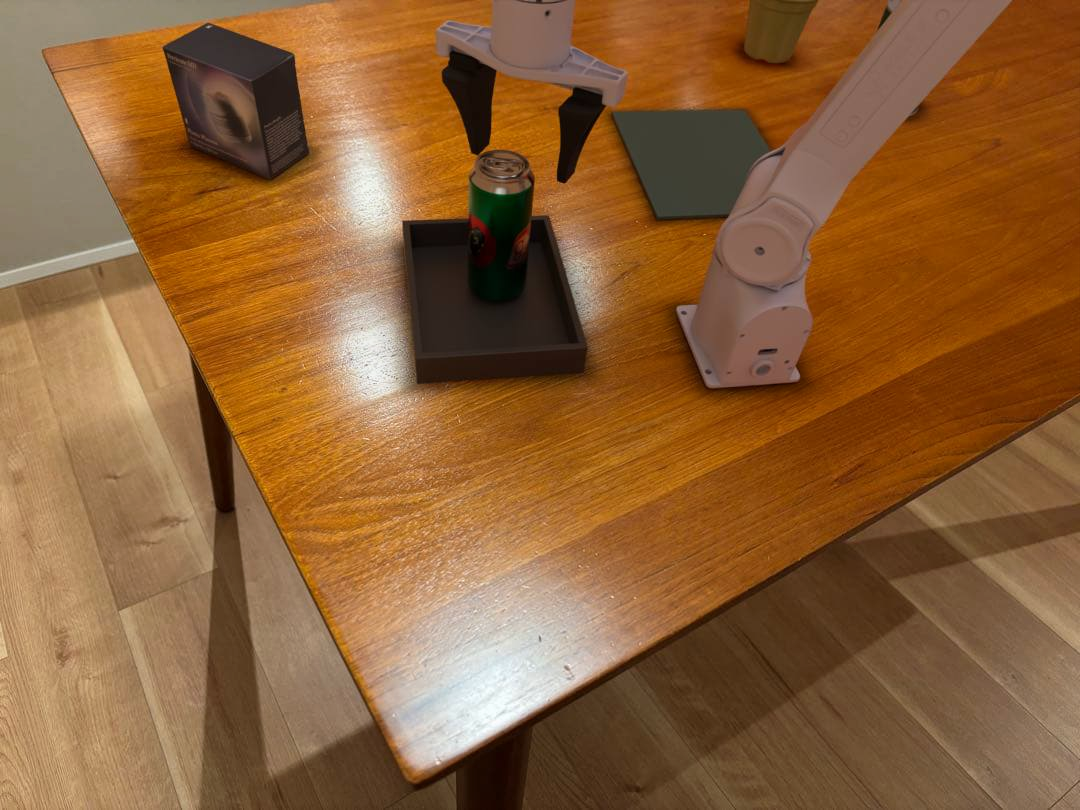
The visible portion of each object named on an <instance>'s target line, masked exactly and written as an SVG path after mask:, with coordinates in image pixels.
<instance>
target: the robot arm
mask: <svg viewBox="0 0 1080 810" xmlns="http://www.w3.org/2000/svg"><path fill="white" fill-rule="evenodd" d="M1012 1H1013V0H901V2H900V3H899V4H898V6H897V7H896V8H895V9H894V11H893V12H892V13H891V15H890V16H889V17H888V18H887V20H886V21H885V22H884V24H883V25H882V26H881V27H880V29H879V30H878V29H877V30H878V31H877V30H876V32H877V33H876V32H875V34H873V36H872V38H871V39H870V40H869V41H868V43H867V44H866V45H865V47H864V48H863V49H862V51H861V52H860V53H859V55H857V57H856V58H855V59H854V61H853V62H852V63H851V65H850V66H849V67H848V68H847V70H846V71H845V72H844V73H843V75H842V76H841V77H840V79H839V80H838V81H837V82H836V84H835V85H834V86H833V87H832V89H831V90H830V92H829V93H828V94H827V96H826V97H825V98H824V99H823V100H822V101H821V103H820V104H819V106H818V107H817V108H816V109H815V111H814V112H813V113H812V115H811V116H810V117H809V118H808V120H807V121H806V122H805V123H804V124H802V125H800V126H799V127H798V128H797V129H795V130H794V131H793V133H792V134H791V136H790V137H789V138H788V139H787V140H786V142H785V143H783V144H782V145H781V146H780V147H778V148H776V149H774V150H771V152H769V153H767V154H765V155H764V156H762V157H761V158H759V159H758V160H757V161H756V162H755V163H754V164H753V166H752V167H751V169H750V171H749V173H748V175H747V178H746V181H745V185H744V187H743V189H742V191H741V193H740V195H739V197H738V199H737V201H736V203H735V205H734V207H733V209H732V211H731V213H730V215H729V217H726V219H725V220H724V221H723V222H722V224H721V226H720V228H719V230H718V233H717V236H716V239H715V243H714V246H713V250H712V253H711V257H710V260H709V263H708V267H707V270H706V274H705V276H704V277H705V278H704V280H703V284H702V287H701V291H700V294H699V297H698V301H697V304H684V305H683V304H682V305H678V306H676V307H675V314H676V316H677V319H678V321H679V324H680V326H681V328H682V331H683V333H684V336H685V338H686V341H687V343H688V346H689V348H690V350H691V353H692V355H693V358H694V361H695V363H696V365H697V367H698V370H699V373H700V375H701V378H702V380H703V382H704V385H705V386H706V387H707V388H708V389H722V388H735V387H748V386H763V385H774V384H789V383H797V382H799V380H800V378H801V374H800V372H799V371H798V368H797V367H796V365H797V363H798V361H799V359H800V356H801V355H802V352H803V351H804V348H805V345H806V344H807V341H808V338H809V337H810V334H811V332H812V329H813V323H814V321H813V316H812V313H811V310H810V308H809V306H808V303H807V302H808V301H807V298H806V278H807V273H808V270H809V268H810V266H811V260H812V254H811V252H810V244H811V241H812V240H813V238H814V236H815V235H816V234H817V232H818V231H819V230H820V229H821V228H822V227H823V226H824V225H825V223H826V222H827V221H828V218H829V217H830V216H831V214H832V212H833V211H834V209H835V207H836V206H837V204H838V202H839V201H840V199H841V198H842V196H843V194H844V193H845V191H846V190H847V188H848V187H849V185H850V183H851V181H852V180H854V178H855V177H856V176H857V174H859V173H860V171H862V169H863V168H864V167H865V166H866V164H868V163H869V161H870V160H871V159H872V158H873V157H874V155H876V154H877V152H878V151H879V150H880V149H881V148H882V147H883V145H884V144H886V142H887V141H888V140H889V139H890V138H891V137H892V136H893V135H894V133H895V132H896V131H897V130H898V129H899V128H900V126H901V125H902V124H903V123H904V122H905V121H906V120H907V119H908V118H909V117H908V116H909V115H910V114H911V113H912V112H913V111H914V110H915V108H916V107H917V106H918V105H919V104H921V103H922V102H924V100H925V99H926V98H927V97H928V95H929V94H930V93H931V92H932V91H933V89H934V88H935V87H937V85H938V84H939V83H940V82H941V80H943V78H944V77H945V76H946V75H947V74H948V73H949V72H950V71H951V69H952V68H953V67H954V66H955V65H956V64H957V63H958V62H959V61H960V60H961V58H962V57H963V56H964V55H965V54H966V53H967V52H968V51H969V49H970V48H971V47H972V46H973V45H974V44H975V43H976V42H977V40H978V39H979V38H980V37H982V35H983V33H984V32H986V30H988V28H989V27H990V26H991V25H992V24H993V23H994V22H995V20H996V19H997V18H998V17H999V16H1000V15H1001V13H1002V12H1003V11H1004V10H1005V9H1006V8H1007V7H1008V6H1009V5H1010V3H1011V2H1012ZM575 6H576V0H491V22H490V23H491V26H486V25H479V24H478V25H477V24H470V23H464V22H458V21H454V20H452V19H451V20H450V19H448V20H446V21H445V22H444V23H442V24H441V25H440V26H439V27H437V28H436V29H435V54H436V55H437V56H439V57H443V58H447V59H448V58H449V60H448V61H447V65H446V66H445V67H444V68H443V69H442V70H441V81H442V83H443V85H444V86H445V88H446V89H447V91H448V93H449V94H450V96H451V98H452V100H453V101H454V103H455V106H456V107H457V110H458V112H459V115H460V117H461V121H462V123H463V127H464V130H465V134H466V137H467V142H468V145H469V150H470V154H472V155H475V156H479V155H480V154H482V152H483V151H484V150H485V149H486V148H487V147H488V146H489V145H490V144H491V143H490V142H491V138H492V137H491V136H492V115H493V113H492V112H493V107H492V106H493V98H494V97H493V96H494V90H495V83H496V78H497V72H498V73H501V74H502V75H505V76H508V77H510V78H514V79H517V80H523V81H532V82H539V83H540V82H541V83H545V84H549V85H552V86H555V87H559V88H561V89H562V88H563V89H566V90H569V91H572V94H571V95H570V96H568V97H567V98H566V99H564V101H563V102H562V103H561V105H560V106H558V110H557V115H558V121H559V131H560V132H559V137H560V138H559V154H558V161H557V167H556V182H557V183H561V184H567V182H568V181H569V180H570V179H571V178H572V176H573V175H574V174H575V172H576V168H577V164H578V162H579V158H580V156H581V153H582V151H583V149H584V146H585V144H586V142H587V140H588V137H589V136H590V134H591V132H592V130H593V128H594V126H595V125H596V123H597V121H598V120H599V118H600V117H601V115H602V113H603V111H604V110H605V109H606V108H607V107H610V108H614V109H615V108H616V107H617V106H618V105H619V103H620V102H621V101H622V100H623V99H624V97H625V93H626V88H627V80H628V74H629V71H628V70H625V69H622V68H618V67H616V66H614V65H610V64H608V63H607V62H604V61H603V60H600V59H599V58H597V57H595V56H593V55H591V54H589V53H587V52H585V51H583V50H581V49H580V48H577V47H576V46H574V45H572V37H573V36H572V35H573V25H574V18H575V17H574V15H575ZM919 106H920V105H919Z"/></svg>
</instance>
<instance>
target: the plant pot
mask: <svg viewBox="0 0 1080 810" xmlns="http://www.w3.org/2000/svg"><path fill="white" fill-rule="evenodd" d="M818 2H819V0H749V5H748V12H747V13H748V14H747V20H746V21H747V22H746V29H745V36H744V43H743V44H744V45H743V51H744V53H745V54H746V55H747V56H749V57H750V58H752V59H753V60H757V61H758V60H764V61H765V62H767V63H769V64H782V63H786V62H788V61H789V60H790V58H791V57H792V56H793V54H794V52H795V50H796V47H797V45H798V43H799V40H800V38H801V37H802V33H803V31H804V29H805V27H806V25H807V22H808V20H809V19H810V16H811V14H812V11H813V10H814V9H815V8H816V6H817V4H818Z"/></svg>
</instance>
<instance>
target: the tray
mask: <svg viewBox="0 0 1080 810" xmlns="http://www.w3.org/2000/svg"><path fill="white" fill-rule="evenodd" d="M401 223H402V225H401V226H402V242H403V254H404V255H403V256H404V266H405V275H406V286H407V287H406V288H407V296H408V306H409V315H410V326H411V327H410V328H411V335H412V337H411V338H412V348H413V359H414V368H415V379H416V384H417V385H424V384H437V383H439V384H440V383H453V382H454V383H455V382H466V381H467V382H468V381H482V380H494V379H495V380H497V379H508V378H510V379H511V378H523V377H538V376H539V377H540V376H551V375H552V376H553V375H554V376H555V375H567V374H581V373H584V372H585V365H586V360H587V354H588V348H589V347H588V343H587V341H586V337H585V334H584V330H583V325H582V323H581V320H580V316H579V313H578V309H577V306H576V302H575V299H574V296H573V292H572V288H571V286H570V283H569V278H568V276H567V272H566V269H565V265H564V262H563V259H562V255H561V251H560V248H559V245H558V241H557V239H556V234H555V231H554V228H553V224H552V221H551V218H550V215H548V214H547V215H532V219H531V231H530V243H529V255H528V267H527V279H526V286H525V289H524V290H523V292H522V293H521V294H519V295H518V296H517V297H515V298H513V299H511V300H509V301H505V302H491V301H487V300H484V299H482V298H480V297H479V296H477V295H476V294H475V293H474V292H473V291H472V290H471V289H470V288H469V285H468V282H467V275H468V217H466V218H465V217H463V218H437V219H410V220H408V219H407V220H402V221H401Z"/></svg>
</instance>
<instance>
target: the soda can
mask: <svg viewBox="0 0 1080 810" xmlns="http://www.w3.org/2000/svg"><path fill="white" fill-rule="evenodd" d="M535 181H536V179H535V175H534V173H533V171H532V166H531V162H530V160H529V159H528V158H527V157H526V156H524V155H523V154H521V153H519V152H516V151H513V150H508V149H492V150H487V151H484V152H483V153H482V152H481V153H480V154H479V155H477V157H476V158H475V159H474V162H473V167H472V168H471V169H470V171H469V173H468V204H467V205H468V206H467V207H468V208H467V209H468V211H467V212H468V215H467V216H468V217H467V218H468V275H467V282H468V285H469V288H470V289H471V290H472V291H473V292H474V293H475V294H476V295H477V296H479V297H480V298H482V299H484V300H487V301H491V302H505V301H509V300H511V299H513V298H515V297H517V296H518V295H519V294H521V293H522V292H523V290H524V289H525V286H526V279H527V267H528V255H529V243H530V231H531V219H532V216H533V206H534V195H535Z"/></svg>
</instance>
